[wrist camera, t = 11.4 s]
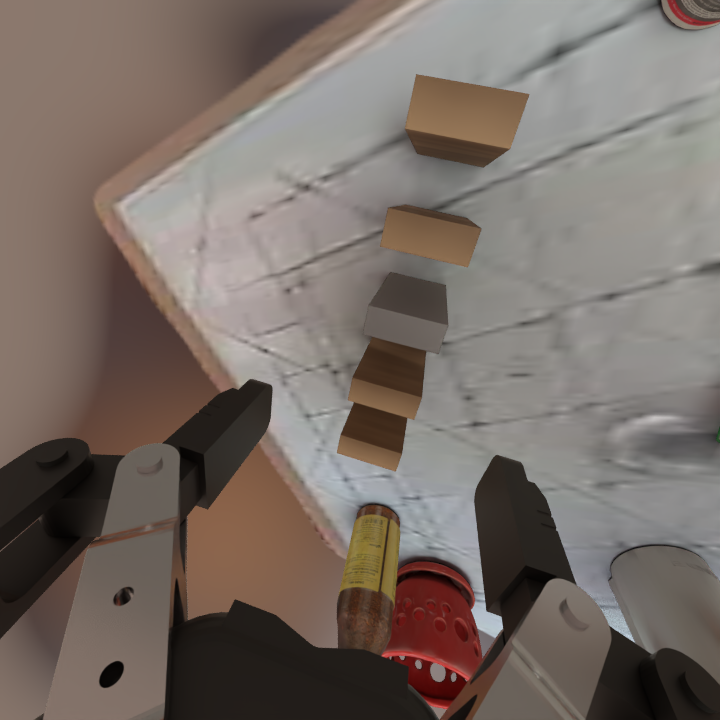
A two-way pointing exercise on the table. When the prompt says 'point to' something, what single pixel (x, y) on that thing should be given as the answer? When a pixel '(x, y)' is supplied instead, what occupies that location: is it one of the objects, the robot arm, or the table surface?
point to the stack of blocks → (718, 436)
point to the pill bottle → (693, 13)
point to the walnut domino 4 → (430, 234)
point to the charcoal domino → (409, 313)
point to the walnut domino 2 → (373, 436)
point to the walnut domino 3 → (462, 120)
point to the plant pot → (434, 629)
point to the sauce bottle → (369, 581)
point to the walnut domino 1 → (389, 378)
